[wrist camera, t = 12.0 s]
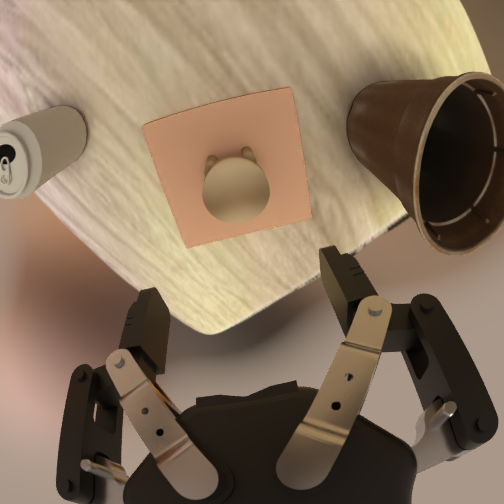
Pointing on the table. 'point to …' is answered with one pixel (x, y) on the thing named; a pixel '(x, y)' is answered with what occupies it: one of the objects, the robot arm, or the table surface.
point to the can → (38, 149)
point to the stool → (235, 187)
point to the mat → (224, 145)
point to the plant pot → (437, 153)
